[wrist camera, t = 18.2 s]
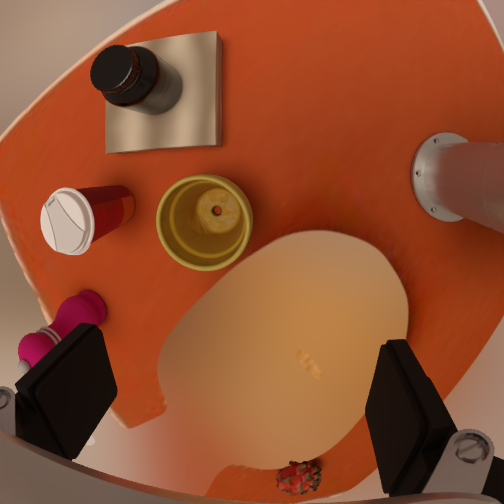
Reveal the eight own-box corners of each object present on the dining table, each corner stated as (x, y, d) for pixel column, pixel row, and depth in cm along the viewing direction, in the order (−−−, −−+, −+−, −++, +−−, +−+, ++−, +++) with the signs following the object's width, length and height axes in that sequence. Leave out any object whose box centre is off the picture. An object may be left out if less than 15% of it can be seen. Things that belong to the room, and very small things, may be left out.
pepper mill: (99, 332, 50) (35, 401, 31) (70, 305, 49) (-2, 364, 30) (116, 307, 48) (45, 377, 29) (84, 278, 47) (5, 335, 28)
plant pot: (184, 247, 44) (159, 271, 35) (179, 173, 41) (151, 178, 32) (259, 247, 43) (252, 272, 34) (257, 170, 40) (249, 172, 31)
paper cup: (90, 194, 43) (28, 210, 30) (127, 168, 42) (68, 175, 28) (112, 239, 45) (57, 269, 31) (151, 216, 43) (99, 241, 30)
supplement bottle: (124, 96, 35) (69, 80, 23) (157, 55, 33) (113, 24, 22) (158, 126, 36) (110, 116, 24) (195, 84, 34) (158, 55, 22)
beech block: (222, 41, 35) (216, 31, 32) (221, 146, 40) (215, 144, 36) (122, 56, 37) (109, 49, 33) (119, 153, 41) (105, 153, 37)
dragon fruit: (323, 448, 55) (284, 465, 60) (297, 456, 50) (257, 472, 55) (337, 482, 50) (296, 495, 55) (313, 493, 44) (270, 505, 49)
